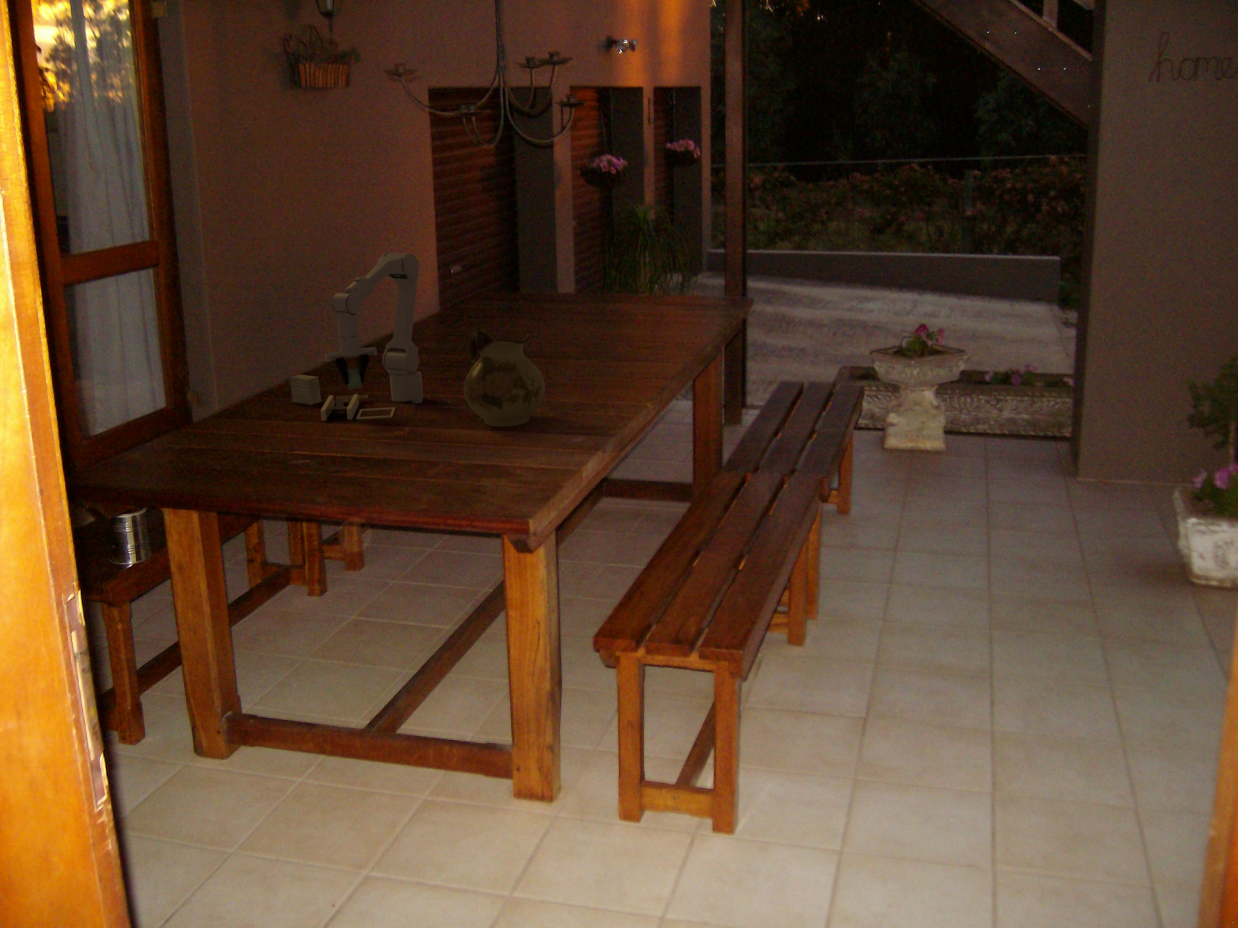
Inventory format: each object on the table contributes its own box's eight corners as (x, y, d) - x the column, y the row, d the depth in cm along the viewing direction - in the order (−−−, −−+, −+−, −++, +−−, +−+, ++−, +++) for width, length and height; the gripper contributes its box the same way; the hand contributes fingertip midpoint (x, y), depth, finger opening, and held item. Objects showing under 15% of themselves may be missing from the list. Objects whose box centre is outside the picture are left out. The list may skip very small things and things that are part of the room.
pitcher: (534, 432, 331) (529, 340, 324) (450, 431, 335) (443, 340, 328) (555, 412, 352) (550, 326, 345) (476, 411, 356) (470, 326, 349)
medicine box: (322, 405, 369) (319, 376, 367) (311, 408, 366) (308, 379, 363) (303, 402, 374) (300, 374, 371) (292, 405, 370) (289, 377, 367)
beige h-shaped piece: (359, 407, 365) (358, 394, 364) (352, 422, 348) (350, 408, 347) (330, 408, 364) (329, 395, 363) (321, 424, 347) (320, 410, 346)
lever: (368, 408, 368) (367, 394, 368) (359, 407, 348) (358, 393, 348) (337, 409, 367) (336, 396, 367) (327, 409, 348) (326, 395, 348)
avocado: (361, 387, 352) (358, 368, 352) (362, 387, 348) (359, 368, 348) (347, 389, 351) (344, 370, 351) (348, 389, 347) (345, 370, 347)
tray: (395, 412, 358) (395, 407, 357) (392, 420, 348) (392, 415, 348) (360, 413, 357) (360, 409, 357) (356, 422, 348) (356, 417, 347)
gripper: (369, 330, 352) (373, 376, 356) (319, 336, 346) (324, 383, 350) (377, 333, 347) (382, 381, 351) (327, 340, 340) (332, 388, 344)
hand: (354, 382), depth 350 cm, fingers closed on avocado, 4 cm apart
